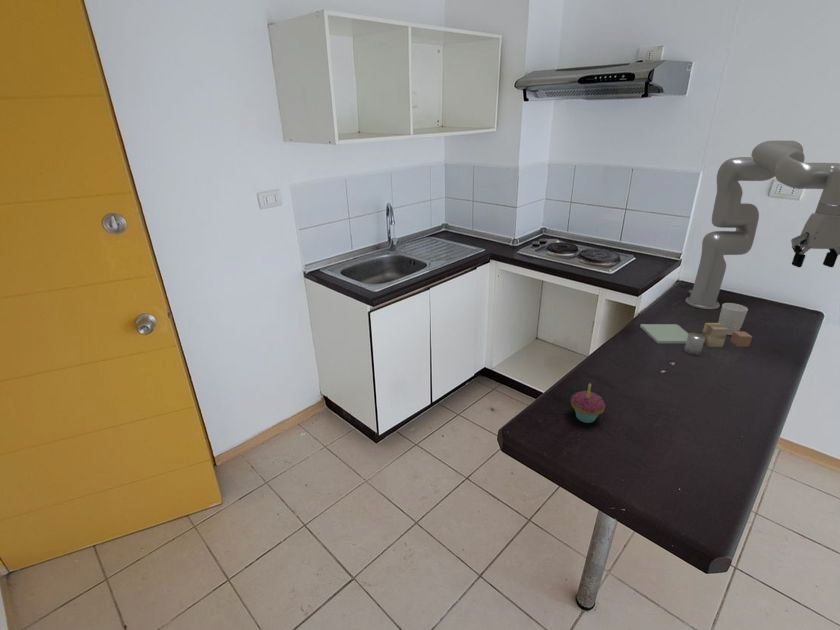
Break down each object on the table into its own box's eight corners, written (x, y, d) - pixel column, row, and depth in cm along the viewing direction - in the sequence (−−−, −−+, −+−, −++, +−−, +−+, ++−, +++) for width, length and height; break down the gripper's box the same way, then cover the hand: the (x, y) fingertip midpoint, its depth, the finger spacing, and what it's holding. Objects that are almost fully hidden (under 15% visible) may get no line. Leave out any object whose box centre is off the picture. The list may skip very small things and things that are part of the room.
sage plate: (639, 326, 169) (640, 324, 169) (676, 326, 169) (677, 324, 169) (657, 343, 156) (658, 340, 156) (697, 343, 156) (697, 341, 156)
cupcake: (598, 431, 112) (606, 391, 107) (564, 420, 116) (570, 381, 111) (605, 414, 119) (613, 375, 114) (573, 404, 123) (579, 366, 118)
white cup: (717, 334, 163) (724, 309, 159) (713, 325, 170) (720, 301, 166) (742, 337, 161) (750, 312, 157) (737, 329, 167) (745, 304, 163)
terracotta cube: (730, 341, 158) (733, 331, 156) (741, 341, 158) (744, 331, 156) (737, 346, 154) (740, 336, 153) (748, 346, 154) (752, 336, 153)
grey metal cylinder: (681, 348, 153) (685, 332, 151) (695, 348, 153) (699, 332, 151) (689, 355, 149) (693, 339, 146) (703, 355, 149) (708, 339, 146)
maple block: (700, 340, 159) (705, 322, 156) (714, 340, 159) (719, 323, 156) (708, 347, 154) (713, 329, 151) (722, 347, 154) (728, 329, 151)
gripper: (851, 207, 133) (829, 262, 140) (793, 207, 133) (774, 262, 140) (874, 212, 126) (850, 269, 133) (813, 212, 126) (793, 269, 133)
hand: (811, 266), depth 136 cm, fingers open, 9 cm apart
